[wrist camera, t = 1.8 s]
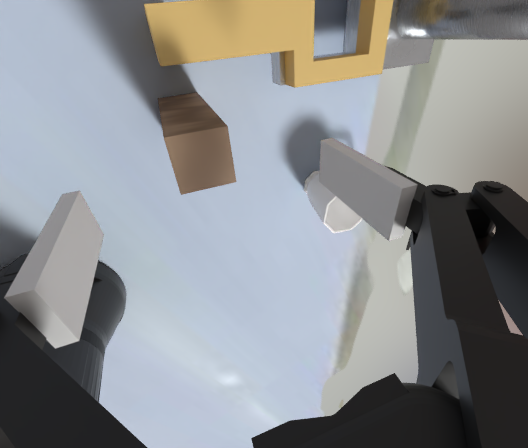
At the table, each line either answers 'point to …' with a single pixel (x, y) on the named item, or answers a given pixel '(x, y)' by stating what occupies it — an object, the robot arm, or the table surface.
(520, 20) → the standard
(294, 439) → the robot arm
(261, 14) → the bracket
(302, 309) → the table surface
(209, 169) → the pin
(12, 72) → the table surface
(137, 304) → the table surface
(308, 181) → the cup
